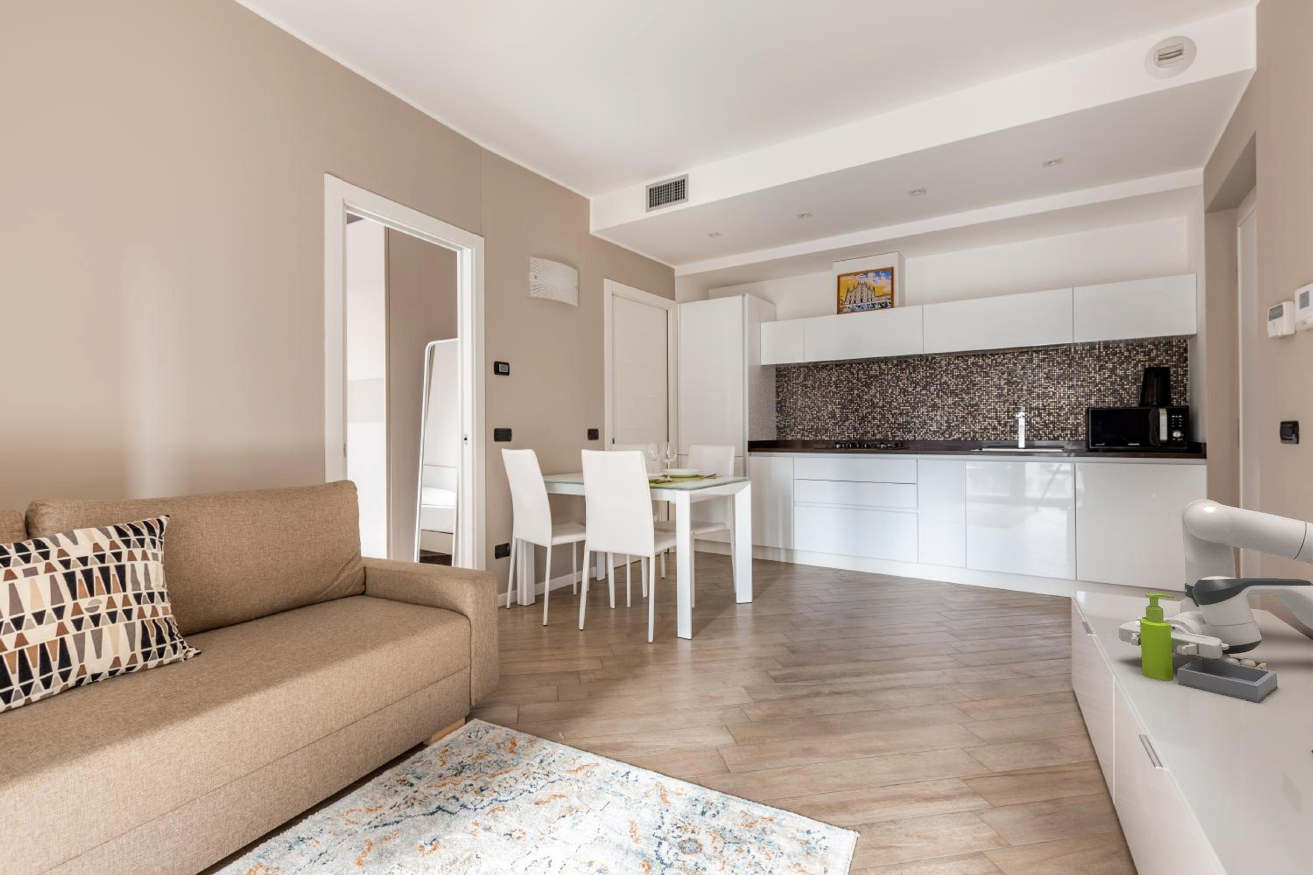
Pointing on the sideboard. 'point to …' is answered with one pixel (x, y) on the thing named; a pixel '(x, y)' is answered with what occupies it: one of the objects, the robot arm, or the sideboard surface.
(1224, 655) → the pebble
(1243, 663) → the pebble
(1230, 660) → the pebble
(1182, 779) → the sideboard surface
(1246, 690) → the dish
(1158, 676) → the soap dispenser
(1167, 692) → the sideboard surface
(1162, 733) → the sideboard surface
